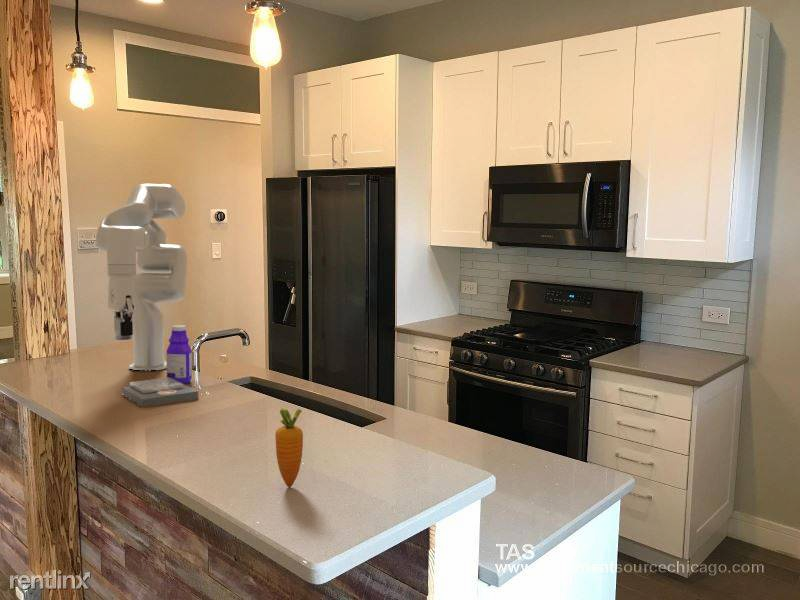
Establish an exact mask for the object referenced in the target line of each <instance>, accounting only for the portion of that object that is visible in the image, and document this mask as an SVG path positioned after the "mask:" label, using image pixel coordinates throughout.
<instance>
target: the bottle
mask: <svg viewBox="0 0 800 600" xmlns="http://www.w3.org/2000/svg"><path fill="white" fill-rule="evenodd" d="M168 342H169V344H168V347H167V348H166V362H167V368H166V377H169V378H171V379H173V380H176V381H178V382H180V383H182V384H184V385H186V384H188V383H190V382H191V380H192V377H193V359H192V358H193V353H192V348H191V346H190V344H189V342H190V339H189V337H188V335H187V325H183V324H175V325H171V335H170V338H169V339H168Z"/></svg>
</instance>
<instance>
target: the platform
mask: <svg viewBox="0 0 800 600" xmlns="http://www.w3.org/2000/svg"><path fill="white" fill-rule="evenodd" d="M129 386H131V387H133V388H134V389H136V390H138V391H140V392H141V393H143V394H144V393H151V392H158V391H161V390H172V389H179V388H183V384H181V383H179V382H177V381H175V380H173V379H171V378H169V377H167V376H166V377H160V378H159V377H158V378H153V379H152V378H151V379H145V380H138V381H129Z"/></svg>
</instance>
